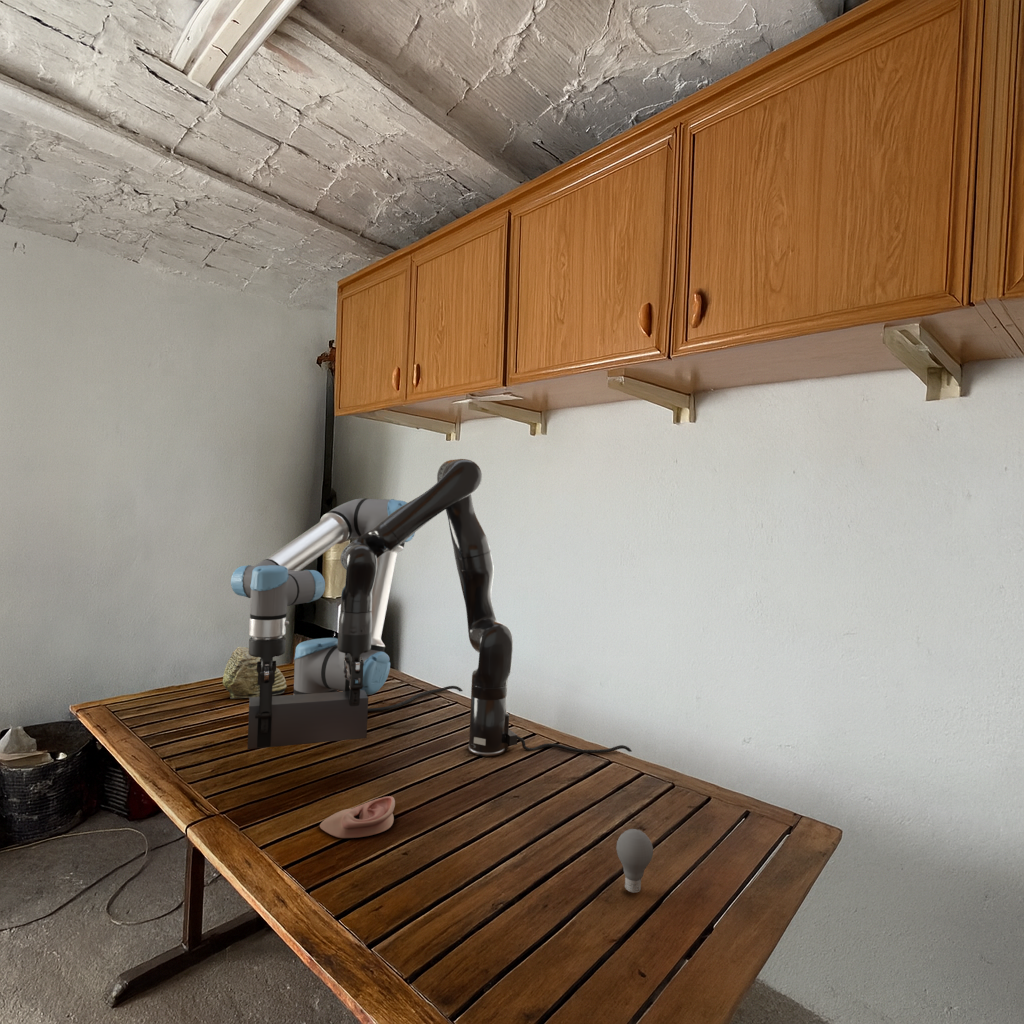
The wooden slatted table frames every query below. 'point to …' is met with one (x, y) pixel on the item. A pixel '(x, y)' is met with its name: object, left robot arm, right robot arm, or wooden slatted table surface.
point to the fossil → (247, 676)
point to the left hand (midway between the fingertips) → (263, 740)
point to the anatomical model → (361, 819)
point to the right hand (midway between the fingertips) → (351, 699)
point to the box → (311, 719)
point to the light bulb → (634, 857)
